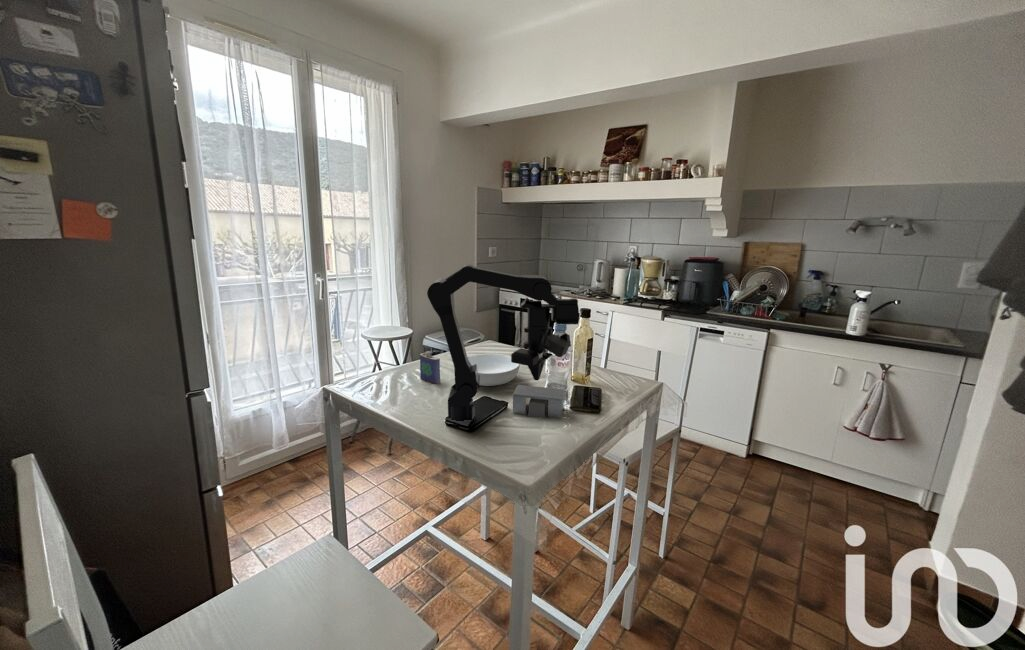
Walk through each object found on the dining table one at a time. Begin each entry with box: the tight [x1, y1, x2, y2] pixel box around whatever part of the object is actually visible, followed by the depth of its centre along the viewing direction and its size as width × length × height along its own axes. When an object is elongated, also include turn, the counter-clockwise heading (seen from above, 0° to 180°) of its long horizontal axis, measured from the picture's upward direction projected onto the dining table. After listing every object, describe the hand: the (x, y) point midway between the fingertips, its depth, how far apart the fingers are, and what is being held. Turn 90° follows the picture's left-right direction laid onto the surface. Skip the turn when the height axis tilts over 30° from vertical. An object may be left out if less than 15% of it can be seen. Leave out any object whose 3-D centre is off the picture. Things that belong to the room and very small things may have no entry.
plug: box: [528, 398, 547, 419], centre depth 121 cm, size 4×14×4 cm, turn 170°
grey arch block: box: [512, 384, 565, 419], centre depth 118 cm, size 14×7×6 cm, turn 78°
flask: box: [419, 350, 441, 385], centre depth 139 cm, size 9×3×11 cm, turn 51°
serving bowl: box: [467, 353, 521, 387], centre depth 140 cm, size 21×21×7 cm
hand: (536, 379), depth 110 cm, fingers closed
